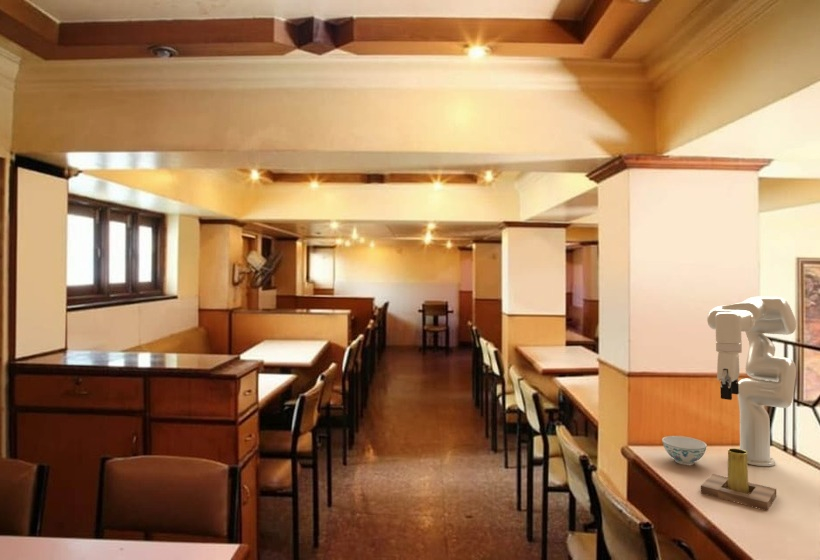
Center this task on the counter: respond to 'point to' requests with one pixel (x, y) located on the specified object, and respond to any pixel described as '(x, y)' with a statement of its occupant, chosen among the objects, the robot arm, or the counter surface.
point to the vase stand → (757, 498)
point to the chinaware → (684, 449)
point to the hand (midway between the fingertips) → (729, 396)
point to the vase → (737, 470)
